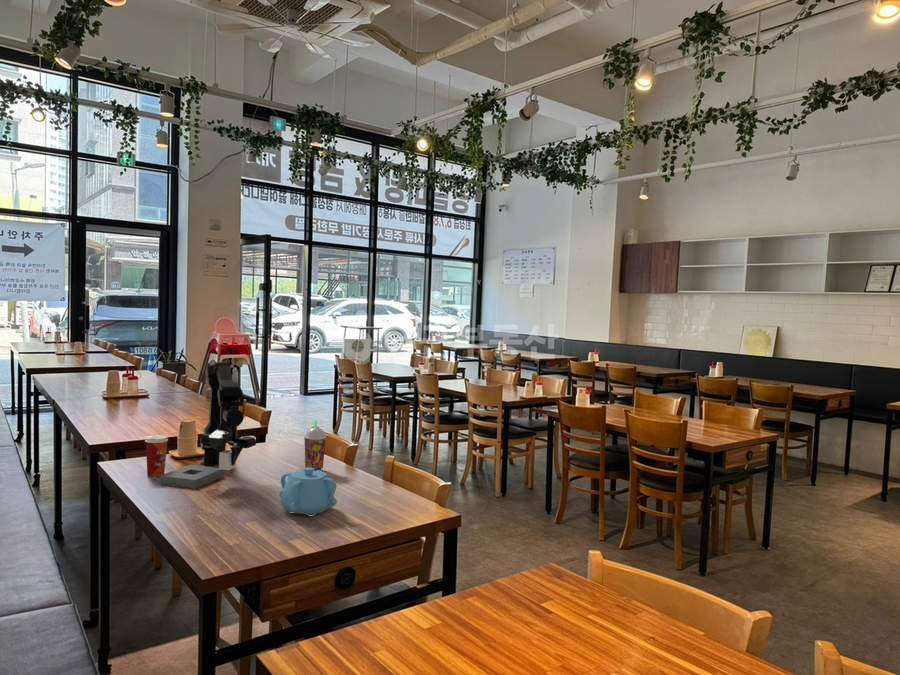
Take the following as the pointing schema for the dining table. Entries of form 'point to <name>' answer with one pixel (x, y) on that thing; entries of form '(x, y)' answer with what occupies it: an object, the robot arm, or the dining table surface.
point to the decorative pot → (307, 491)
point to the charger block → (226, 460)
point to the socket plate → (191, 476)
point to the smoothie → (314, 448)
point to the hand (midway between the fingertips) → (227, 464)
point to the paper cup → (156, 454)
